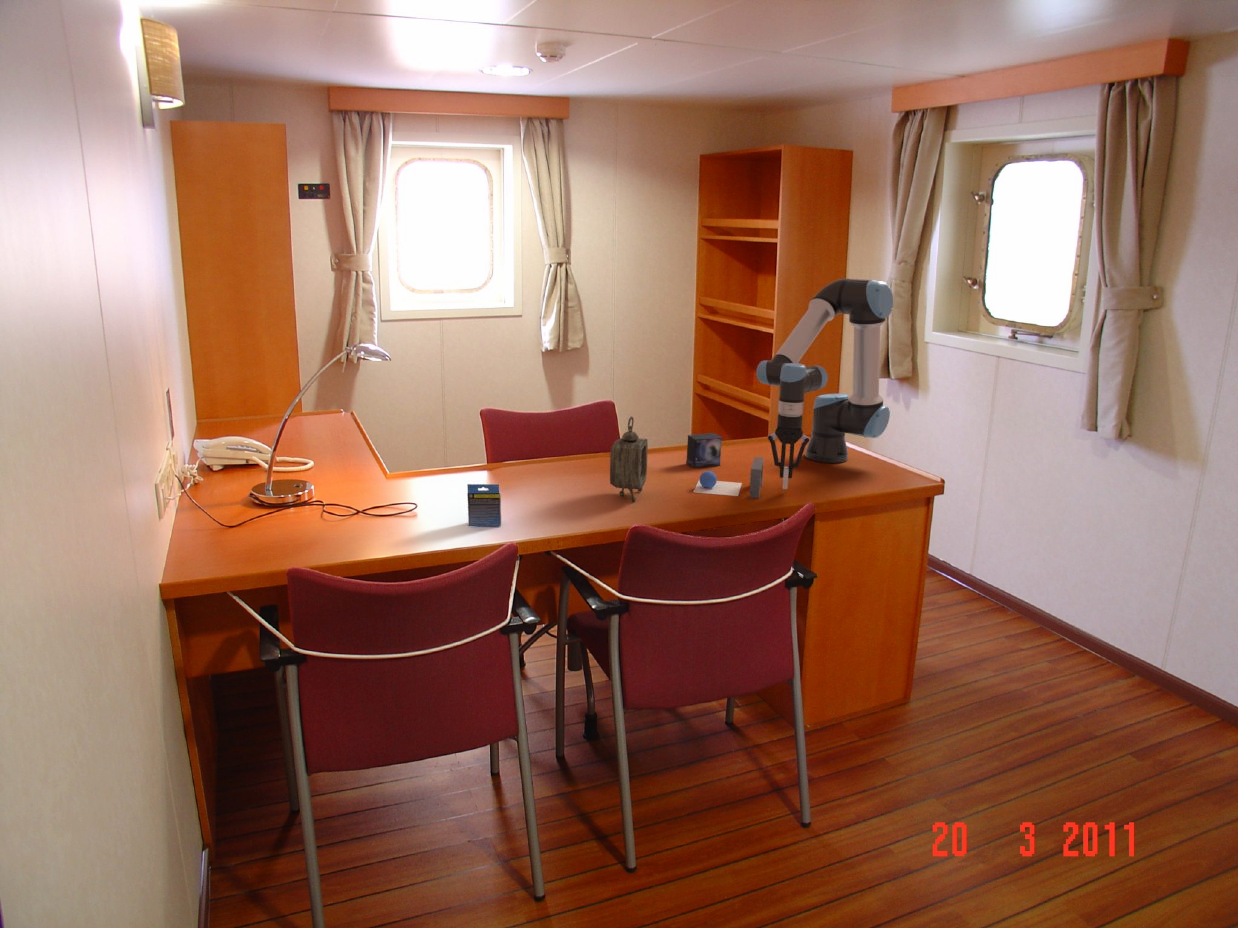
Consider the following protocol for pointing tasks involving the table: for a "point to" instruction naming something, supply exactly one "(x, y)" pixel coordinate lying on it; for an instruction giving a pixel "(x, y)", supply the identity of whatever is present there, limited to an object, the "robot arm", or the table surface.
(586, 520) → the table surface
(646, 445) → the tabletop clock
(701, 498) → the table surface
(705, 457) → the small box
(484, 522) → the label tape cartridge
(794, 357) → the robot arm
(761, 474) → the bridge
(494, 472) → the table surface
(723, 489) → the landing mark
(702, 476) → the ball
